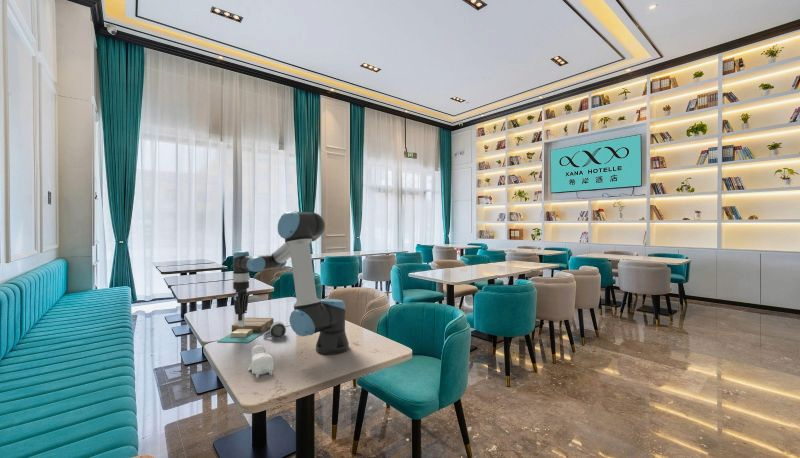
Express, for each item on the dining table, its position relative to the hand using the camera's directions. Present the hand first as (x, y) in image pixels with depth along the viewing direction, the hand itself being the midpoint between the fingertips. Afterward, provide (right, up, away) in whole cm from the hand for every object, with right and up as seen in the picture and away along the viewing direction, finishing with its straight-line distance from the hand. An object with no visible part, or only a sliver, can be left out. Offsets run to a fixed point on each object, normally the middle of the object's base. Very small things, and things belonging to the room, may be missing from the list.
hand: (241, 326), depth 181 cm
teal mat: (+1, -5, -3) cm, 6 cm away
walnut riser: (+1, -5, +13) cm, 14 cm away
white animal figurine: (+27, -6, -43) cm, 51 cm away
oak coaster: (0, -5, +1) cm, 5 cm away
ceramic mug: (+18, -6, -1) cm, 19 cm away
